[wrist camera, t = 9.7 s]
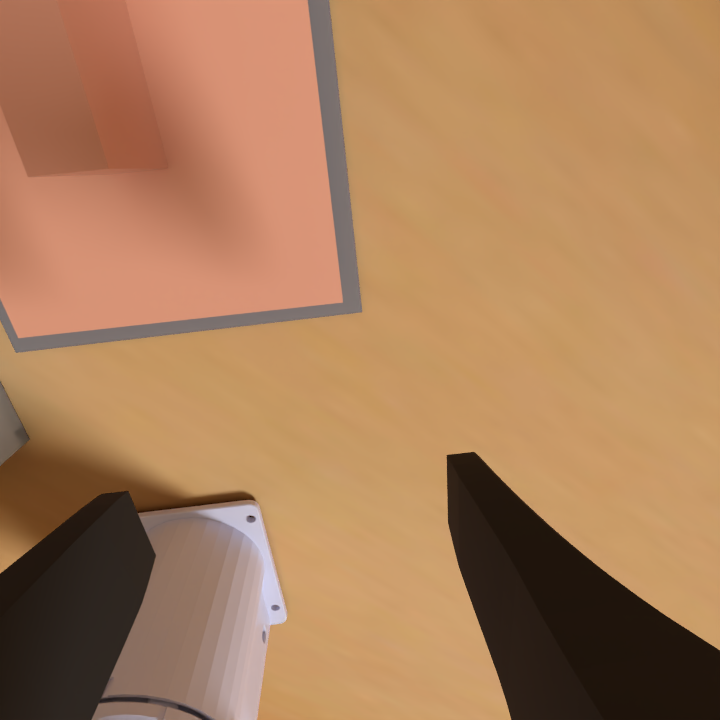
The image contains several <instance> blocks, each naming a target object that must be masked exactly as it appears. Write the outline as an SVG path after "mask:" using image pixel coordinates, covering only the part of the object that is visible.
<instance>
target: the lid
mask: <svg viewBox="0 0 720 720" xmlns="http://www.w3.org/2000/svg"><path fill="white" fill-rule="evenodd" d="M0 299H1V301H2V304H3V306H4V308H5V310H6V312H7V315H8V317H9V319H10V321H11V323H12V325H13V328H14V330H15V332H16V334H17V336H18V338H25V337H34V336H43V335H52V334H62V333H71V332H80V331H89V330H98V329H107V328H116V327H125V326H134V325H143V324H152V323H161V322H171V321H180V320H189V319H198V318H207V317H216V316H225V315H234V314H243V313H252V312H261V311H270V310H280V309H289V308H298V307H307V306H316V305H325V304H334V303H343V296H342V288H341V279H340V271H339V262H338V254H337V245H336V237H335V228H334V220H333V211H332V203H331V194H330V186H329V177H328V168H327V160H326V151H325V143H324V134H323V126H322V117H321V109H320V100H319V92H318V83H317V75H316V66H315V58H314V49H313V41H312V32H311V24H310V15H309V7H308V0H0Z"/></svg>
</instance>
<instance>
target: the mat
mask: <svg viewBox="0 0 720 720" xmlns="http://www.w3.org/2000/svg"><path fill="white" fill-rule="evenodd" d="M308 7H309V15H310V24H311V32H312V41H313V49H314V58H315V66H316V75H317V83H318V92H319V100H320V109H321V117H322V126H323V134H324V143H325V151H326V160H327V168H328V177H329V186H330V194H331V203H332V211H333V220H334V228H335V237H336V245H337V254H338V262H339V271H340V279H341V288H342V296H343V303H334V304H325V305H316V306H307V307H298V308H289V309H280V310H270V311H261V312H252V313H243V314H234V315H225V316H216V317H207V318H198V319H189V320H180V321H171V322H161V323H152V324H143V325H134V326H125V327H116V328H107V329H98V330H89V331H80V332H71V333H62V334H52V335H43V336H34V337H25V338H18V336H17V334H16V332H15V330H14V328H13V325H12V323H11V321H10V319H9V317H8V315H7V312H6V310H5V308H4V306H3V304H2V301H1V299H0V320H1V322H2V325H3V327H4V329H5V331H6V333H7V335H8V337H9V339H10V341H11V343H12V346H13V348H14V350H15V352H16V353H18V352H26V351H35V350H43V349H52V348H60V347H69V346H77V345H86V344H95V343H103V342H112V341H120V340H129V339H137V338H146V337H154V336H163V335H171V334H180V333H189V332H197V331H206V330H214V329H223V328H231V327H240V326H248V325H257V324H265V323H274V322H283V321H291V320H300V319H308V318H317V317H325V316H334V315H342V314H351V313H359V312H362V306H361V296H360V287H359V278H358V268H357V259H356V250H355V240H354V231H353V221H352V212H351V203H350V193H349V184H348V175H347V165H346V156H345V146H344V137H343V128H342V118H341V109H340V100H339V90H338V81H337V71H336V62H335V53H334V43H333V34H332V24H331V15H330V6H329V0H308Z"/></svg>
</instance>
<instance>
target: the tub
mask: <svg viewBox="0 0 720 720" xmlns="http://www.w3.org/2000/svg"><path fill="white" fill-rule="evenodd" d="M29 440H30V439H29V437H28V435H27V433H26V431H25V429H24V427H23V425H22V423H21V421H20V419H19V418H18V416H17V414H16V412H15V410H14V408H13V406H12V404H11V402H10V400H9V398H8V396H7V394H6V392H5V390H4V388H3V386H2V384H1V382H0V466H1V465H2V464H3V463H4V462H5V461H6V460H7V459H8V458H9V457H11V456H12V455H13V454H14V453H15V452H16V451H17V450H18V449H20V448H21V447H22V446H23V445H24V444H25V443H26V442H27V441H29Z"/></svg>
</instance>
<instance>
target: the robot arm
mask: <svg viewBox="0 0 720 720" xmlns="http://www.w3.org/2000/svg"><path fill="white" fill-rule="evenodd" d="M447 489H448V524H449V528H450V532H451V537H452V541H453V545H454V549H455V553H456V557H457V561H458V565H459V568H460V571H461V574H462V577H463V580H464V582H465V585H466V588H467V591H468V594H469V596H470V599H471V602H472V605H473V608H474V610H475V613H476V616H477V619H478V621H479V624H480V627H481V630H482V632H483V635H484V638H485V641H486V643H487V646H488V649H489V652H490V654H491V657H492V660H493V663H494V666H495V668H496V671H497V674H498V677H499V680H500V683H501V686H502V689H503V692H504V695H505V698H506V702H507V705H508V709H509V712H510V716H511V720H720V650H718V649H717V648H715V647H714V646H712V645H710V644H709V643H707V642H706V641H704V640H703V639H701V638H700V637H698V636H696V635H695V634H693V633H692V632H690V631H689V630H687V629H686V628H684V627H682V626H681V625H679V624H678V623H676V622H675V621H673V620H672V619H670V618H668V617H667V616H665V615H664V614H663V613H661V612H660V611H658V610H657V609H655V608H654V607H652V606H651V605H650V604H648V603H647V602H645V601H644V600H642V599H641V598H640V597H638V596H637V595H635V594H634V593H633V592H631V591H630V590H629V589H627V588H626V587H625V586H623V585H622V584H621V583H619V582H618V581H617V580H615V579H614V578H612V577H611V576H610V575H609V574H607V573H606V572H605V571H603V570H602V569H601V568H600V567H598V566H597V565H596V564H595V563H593V562H592V561H591V560H590V559H588V558H587V557H586V556H585V555H583V554H582V553H581V552H580V551H579V550H577V549H576V548H575V547H574V546H573V545H571V544H570V543H569V542H568V541H567V540H565V539H564V538H563V537H562V536H561V535H560V534H559V533H557V532H556V531H555V530H554V529H553V528H552V527H551V526H549V525H548V524H547V523H546V522H545V521H544V520H543V519H542V518H541V517H540V516H539V515H537V514H536V513H535V512H534V511H533V510H532V509H531V508H530V507H529V506H528V505H527V504H526V503H524V502H523V501H522V500H521V499H520V498H519V497H518V496H517V495H516V494H515V493H514V492H513V491H512V490H511V489H510V488H509V487H508V486H507V485H506V484H505V483H504V482H503V481H502V480H501V479H500V478H499V477H498V476H497V475H496V474H495V473H494V472H493V471H492V469H491V468H490V467H489V466H488V465H487V464H486V463H485V462H484V461H483V460H482V459H481V458H480V457H479V456H478V455H477V454H476V453H474V452H470V453H461V454H452V455H447ZM249 515H252V516H254V517H249ZM286 619H287V610H286V606H285V602H284V598H283V595H282V591H281V587H280V583H279V579H278V575H277V572H276V568H275V564H274V560H273V556H272V553H271V549H270V545H269V541H268V537H267V534H266V530H265V526H264V522H263V518H262V514H261V511H260V507H259V505H258V503H257V502H256V501H253V500H242V501H234V502H225V503H217V504H209V505H201V506H192V507H184V508H176V509H167V510H159V511H151V512H142V513H137V510H136V508H135V506H134V504H133V501H132V499H131V497H130V494H129V492H128V491H124V492H116V493H107V494H101V495H99V496H98V497H97V498H95V499H94V500H92V501H91V502H90V503H88V504H87V505H86V506H84V507H83V508H82V509H80V510H79V511H78V512H77V513H75V514H74V515H73V516H71V517H70V518H69V519H68V520H66V521H65V522H64V523H63V524H61V525H60V526H59V527H58V528H57V529H55V530H54V531H53V532H52V533H50V534H49V535H48V536H47V537H45V538H44V539H43V540H42V541H40V542H39V543H38V544H37V545H35V546H34V547H33V548H32V549H31V550H29V551H28V552H27V553H26V554H24V555H23V556H22V557H21V558H19V559H18V560H17V561H16V562H14V563H13V564H12V565H11V566H9V567H8V568H7V569H6V570H4V571H3V572H2V573H1V574H0V720H257V716H258V708H259V701H260V694H261V687H262V680H263V673H264V665H265V658H266V651H267V644H268V637H269V630H270V625H273V624H281V623H283V622H285V621H286Z"/></svg>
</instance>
